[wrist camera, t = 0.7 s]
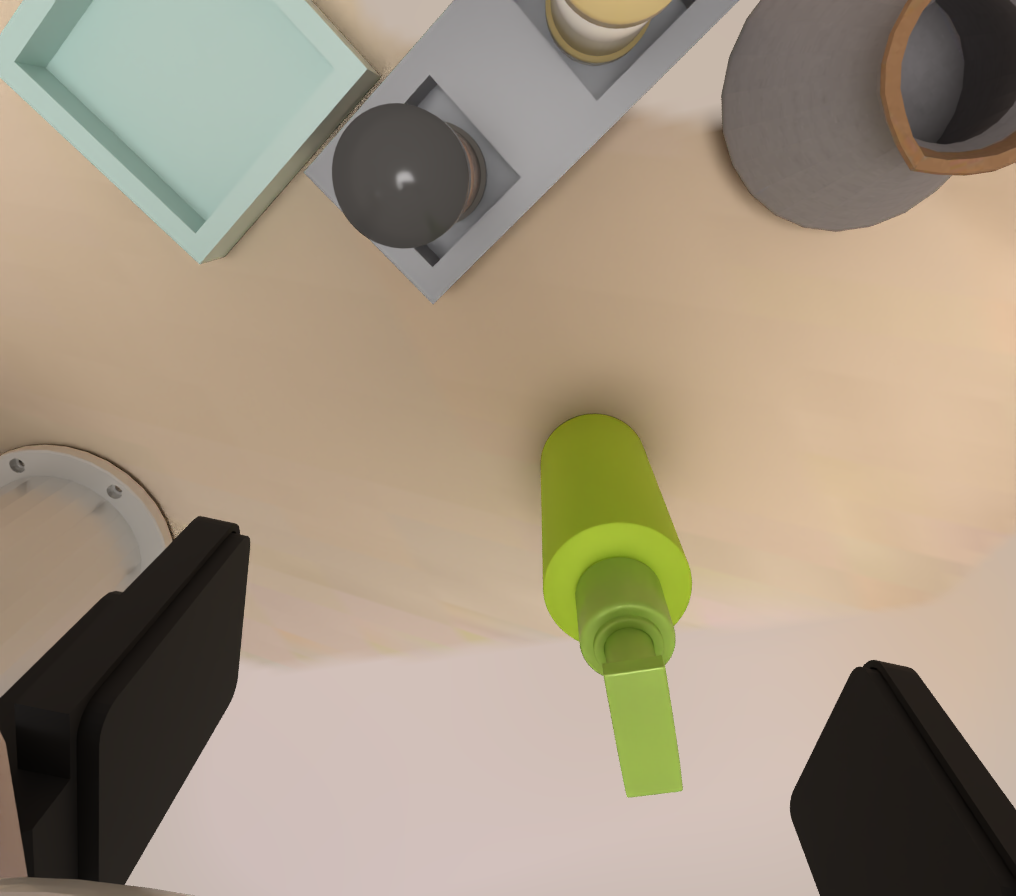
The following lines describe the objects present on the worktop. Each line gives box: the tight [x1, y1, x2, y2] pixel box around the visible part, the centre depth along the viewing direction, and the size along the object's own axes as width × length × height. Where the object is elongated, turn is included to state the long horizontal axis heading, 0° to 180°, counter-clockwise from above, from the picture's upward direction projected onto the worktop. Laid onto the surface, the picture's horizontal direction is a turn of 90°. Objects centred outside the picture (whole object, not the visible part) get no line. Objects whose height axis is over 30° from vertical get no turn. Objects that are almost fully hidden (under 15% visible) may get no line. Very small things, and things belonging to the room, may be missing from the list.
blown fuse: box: [332, 103, 487, 249], centre depth 30 cm, size 5×5×11 cm
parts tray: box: [0, 0, 381, 264], centre depth 33 cm, size 12×12×3 cm
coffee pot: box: [721, 0, 1016, 231], centre depth 28 cm, size 21×12×15 cm, turn 61°
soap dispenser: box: [541, 414, 692, 797], centre depth 32 cm, size 6×7×20 cm
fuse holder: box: [304, 0, 739, 304], centre depth 32 cm, size 18×8×4 cm, turn 134°
